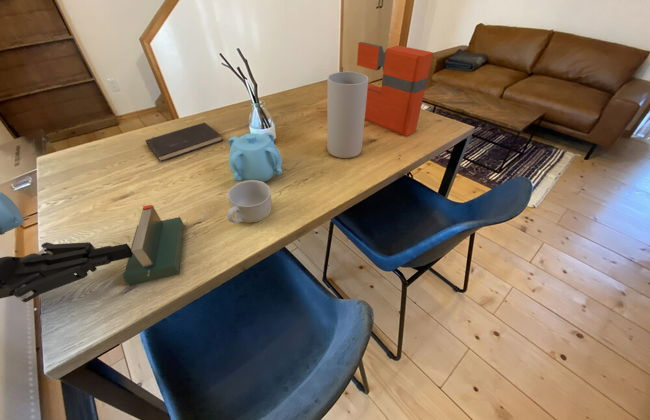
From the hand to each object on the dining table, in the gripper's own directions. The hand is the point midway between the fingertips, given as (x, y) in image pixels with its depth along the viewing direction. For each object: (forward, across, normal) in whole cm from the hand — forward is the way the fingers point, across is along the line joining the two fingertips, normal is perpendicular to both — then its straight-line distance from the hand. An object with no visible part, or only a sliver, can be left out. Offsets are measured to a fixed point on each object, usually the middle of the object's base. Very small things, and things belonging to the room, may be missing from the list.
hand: (129, 250), depth 56 cm
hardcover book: (+5, -61, -8) cm, 61 cm away
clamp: (+84, -56, -8) cm, 102 cm away
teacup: (+24, -11, -8) cm, 28 cm away
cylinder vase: (+61, -37, -8) cm, 72 cm away
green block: (+2, -6, -8) cm, 10 cm away
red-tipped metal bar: (+2, -5, -5) cm, 8 cm away
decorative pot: (+29, -31, -8) cm, 44 cm away
